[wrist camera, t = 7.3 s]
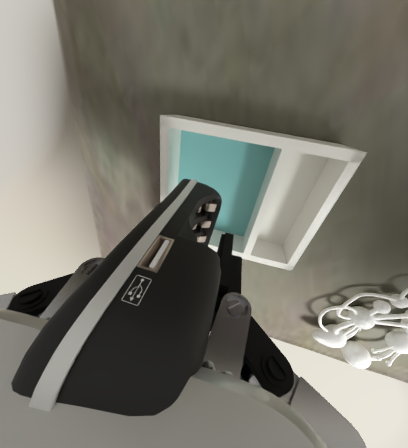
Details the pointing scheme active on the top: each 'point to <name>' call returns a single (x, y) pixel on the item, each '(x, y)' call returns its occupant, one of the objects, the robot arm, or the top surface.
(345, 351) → the tangled rod sculpture
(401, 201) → the top surface
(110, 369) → the battery charger
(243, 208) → the divided compartment box
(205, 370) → the robot arm
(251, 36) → the top surface
